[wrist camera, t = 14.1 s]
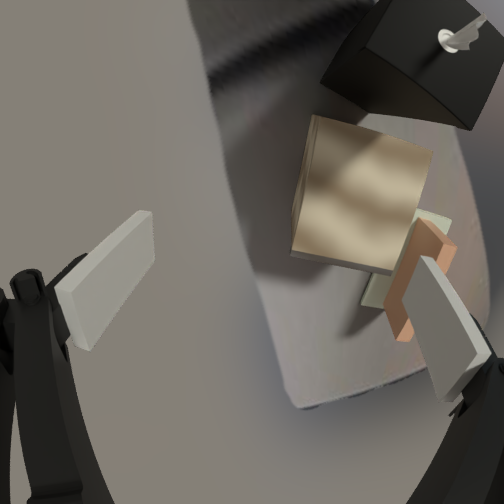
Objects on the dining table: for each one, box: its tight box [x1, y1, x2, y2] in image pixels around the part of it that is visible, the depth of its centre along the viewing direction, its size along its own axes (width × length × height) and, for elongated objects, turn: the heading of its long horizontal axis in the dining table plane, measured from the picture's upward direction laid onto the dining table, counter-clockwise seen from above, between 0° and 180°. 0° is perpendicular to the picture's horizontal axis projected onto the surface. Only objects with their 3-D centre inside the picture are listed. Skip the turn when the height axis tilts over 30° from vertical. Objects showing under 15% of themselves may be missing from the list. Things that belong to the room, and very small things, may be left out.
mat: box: [360, 208, 452, 309], centre depth 43 cm, size 18×10×1 cm, turn 171°
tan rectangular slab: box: [383, 217, 457, 342], centre depth 39 cm, size 16×2×9 cm, turn 171°
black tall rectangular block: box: [320, 0, 504, 131], centre depth 20 cm, size 8×8×28 cm
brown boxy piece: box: [290, 114, 433, 276], centre depth 34 cm, size 15×12×12 cm
